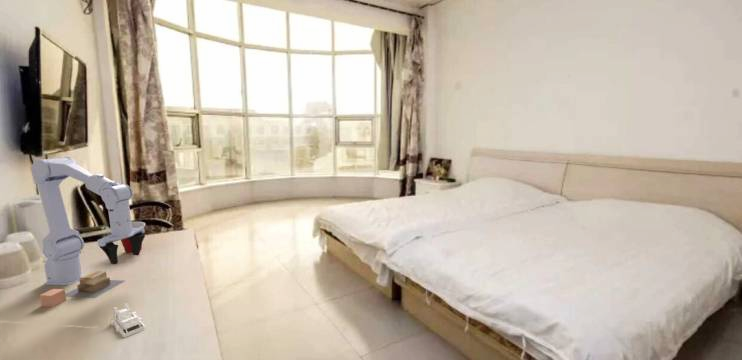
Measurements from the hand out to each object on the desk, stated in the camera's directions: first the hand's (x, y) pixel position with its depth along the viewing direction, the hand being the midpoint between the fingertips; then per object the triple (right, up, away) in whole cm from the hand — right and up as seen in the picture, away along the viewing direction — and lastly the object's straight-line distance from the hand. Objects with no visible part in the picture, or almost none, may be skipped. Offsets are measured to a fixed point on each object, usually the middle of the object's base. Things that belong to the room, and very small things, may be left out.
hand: (125, 259), depth 115 cm
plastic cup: (-21, -5, +34) cm, 40 cm away
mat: (-10, -10, 0) cm, 15 cm away
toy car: (+16, -14, -20) cm, 29 cm away
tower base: (-10, -10, 0) cm, 14 cm away
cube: (-15, -12, -9) cm, 22 cm away
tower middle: (-10, -7, 0) cm, 13 cm away
